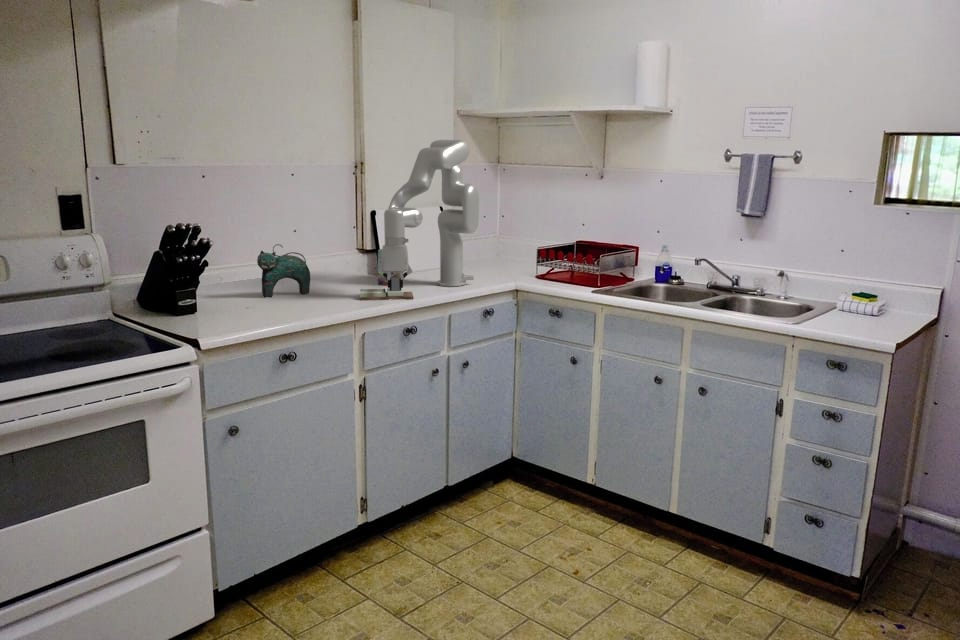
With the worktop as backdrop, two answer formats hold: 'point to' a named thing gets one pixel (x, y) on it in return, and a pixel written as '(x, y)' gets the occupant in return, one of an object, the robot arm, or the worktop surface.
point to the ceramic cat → (283, 271)
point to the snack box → (381, 278)
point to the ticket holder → (381, 295)
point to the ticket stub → (395, 287)
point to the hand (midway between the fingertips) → (395, 289)
